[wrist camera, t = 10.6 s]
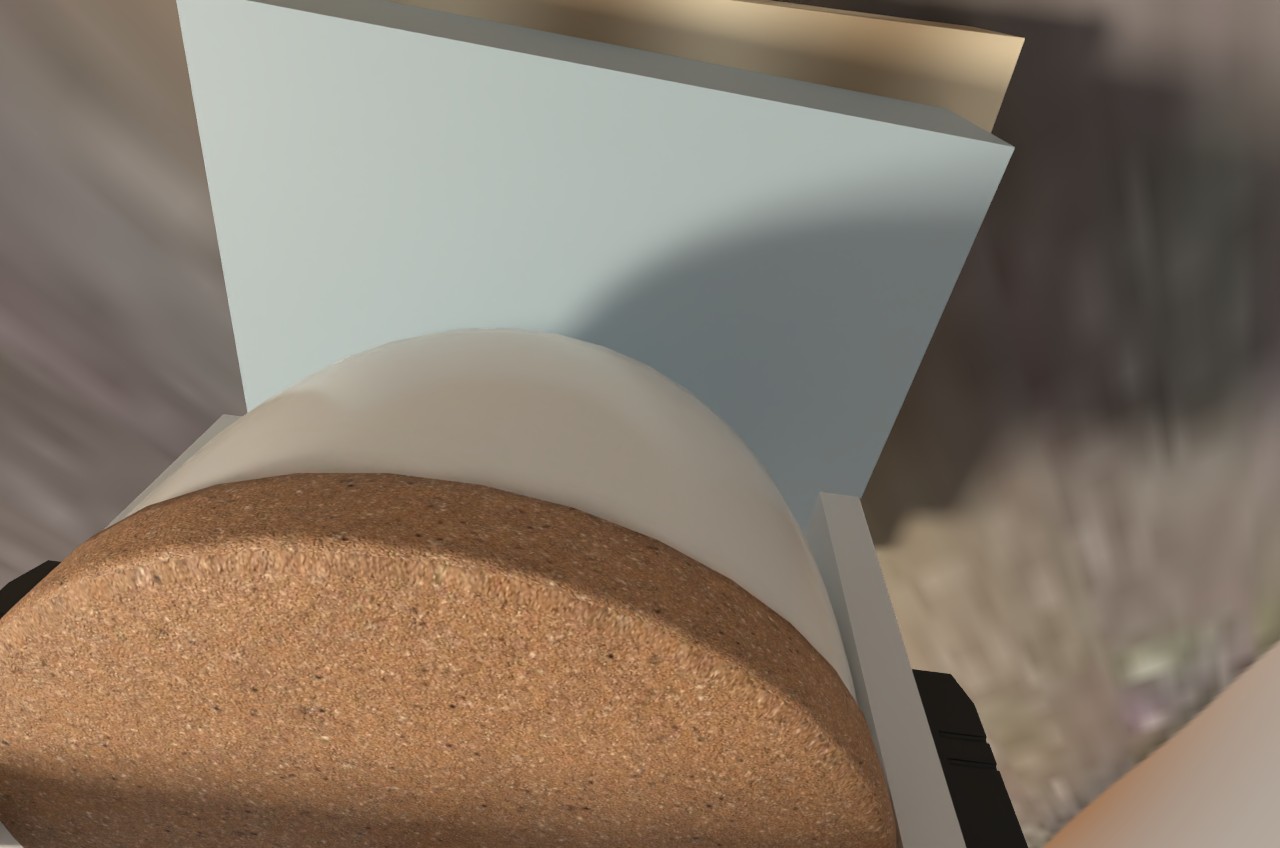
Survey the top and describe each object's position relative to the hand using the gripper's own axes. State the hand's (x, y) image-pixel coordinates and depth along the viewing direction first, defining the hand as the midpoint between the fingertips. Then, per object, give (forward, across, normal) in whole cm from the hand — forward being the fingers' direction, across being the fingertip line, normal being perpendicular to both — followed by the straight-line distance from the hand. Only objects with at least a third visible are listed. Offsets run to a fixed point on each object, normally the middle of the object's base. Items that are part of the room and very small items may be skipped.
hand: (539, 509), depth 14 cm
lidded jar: (+1, 0, 0) cm, 1 cm away
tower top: (+7, 0, 0) cm, 7 cm away
